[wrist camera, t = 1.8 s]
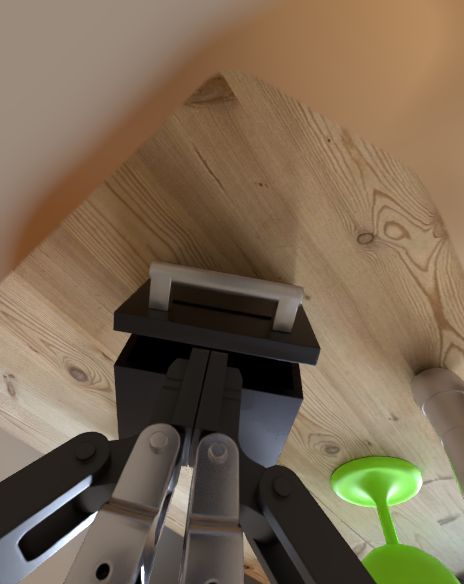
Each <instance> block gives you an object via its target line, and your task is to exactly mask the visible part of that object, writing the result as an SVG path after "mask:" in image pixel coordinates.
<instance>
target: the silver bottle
mask: <svg viewBox="0 0 464 584" xmlns="http://www.w3.org/2000/svg"><path fill="white" fill-rule="evenodd" d="M411 391H412V394H413V398H414V401H415V402H416V404H417V405H418V407H419V408H420V410H421V411H422V412H423V413H424V414H425V416H426V417H427V419H428V420H429V422H430V423H431V425H432V427H433V428H434V430H435V432H436V433H437V435H438V436H439V438H440V441H441V443H442V445H443V447H444V450H445V452H446V454H447V456H448V458H449V461H450V464H451V467H452V470H453V473H454V476H455V478H456V481H457V484H458V487H459V489H460V492H461V494H462V497H463V498H464V381H463V380H462V379H461V378H460V377H459V376H458V375H457V374H456V373H454V372H452V371H449V370H447V369H443V368H432V369H427V370H425V371H422V372H421V373H419V374H418V375H417V376H416V377H415V378H414V380H413V382H412V386H411Z"/></svg>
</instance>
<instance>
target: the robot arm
mask: <svg viewBox="0 0 464 584" xmlns="http://www.w3.org/2000/svg"><path fill="white" fill-rule="evenodd" d="M209 353H210V351H209V350H204V349H198V348H192V351H191V355H190V358H189V360H187V359H181V358H177V359H176V360H175V361H174V362H173V363H172V364H171V365H170V366H169V369H168V371H167V374H166V377H165V380H164V383H163V385H162V388H161V391H160V394H159V397H158V399H157V402H156V405H155V408H154V411H153V414H152V416H151V419H150V421H149V423H148V425H147V426H146V428H145V429H144V430H143V431H141V432H140V433H139V434H137V435H135V436H133V437H130V438H126V439H119V440H112V441H108V439H107V438H106V437H105V436H104V435H103V434H101V433H98V432H86V433H82V434H79V435H77V436H76V437H74V438H72V439H71V440H69V441H67V442H66V443H64V444H62V445H61V446H59V447H57V448H56V449H54V450H52V451H51V452H49V453H47V454H46V455H44V456H43V457H41V458H39V459H38V460H36V461H34V462H33V463H31V464H29V465H28V466H26V467H25V468H23V469H21V470H19V471H18V472H16V473H15V474H13V475H11V476H10V477H8V478H6V479H5V480H3V481H1V482H0V584H17V583H19V582H20V581H21V580H22V579H23V578H25V577H26V576H27V575H28V574H30V573H31V572H32V571H33V570H34V569H36V568H37V567H38V566H39V565H41V564H42V563H43V562H44V561H45V560H47V559H48V558H49V557H50V556H52V555H53V554H54V553H55V552H56V551H58V549H60V548H61V547H63V546H64V545H65V544H66V543H67V542H68V541H70V540H71V539H72V538H73V537H75V536H76V535H77V534H78V533H80V532H81V531H82V530H83V529H85V528H86V527H87V526H88V525H89V524H91V523H92V524H91V527H90V529H89V531H88V533H87V535H86V537H85V539H84V541H83V543H82V546H81V547H80V550H79V552H78V554H77V556H76V558H75V560H74V562H73V564H72V566H71V568H70V571H69V573H68V575H67V577H66V579H65V581H64V583H63V584H148V582H149V578H150V574H151V571H152V567H153V562H154V558H155V554H156V550H157V546H158V543H159V540H160V537H161V533H162V530H163V527H164V523H165V520H166V517H167V514H168V510H169V507H170V504H171V500H172V497H173V494H174V490H175V487H176V485H177V482H178V478H179V474H180V469H181V466H186V467H187V465H188V460H189V455H190V451H191V457H190V464H189V467H193V468H194V469H193V475H192V481H191V487H190V494H189V502H188V510H187V519H186V527H185V535H184V545H183V552H182V561H181V567H180V575H179V582H178V584H244V556H243V532H244V533H245V536H246V538H247V540H248V542H249V544H250V546H251V548H252V550H253V551H254V553H255V555H256V557H257V559H258V561H259V562H260V564H261V566H262V568H263V570H264V572H265V573H266V575H267V577H268V579H269V581H270V583H271V584H377V583H376V582H375V580H374V579H373V578H372V576H371V575H370V574H369V572H368V571H367V569H366V568H365V567H364V565H363V564H362V563H361V561H360V560H359V559H358V557H357V556H356V555H355V553H354V552H353V551H352V549H351V548H350V546H349V545H348V544H347V542H346V541H345V540H344V538H343V537H342V536H341V534H340V533H339V532H338V530H337V529H336V528H335V526H334V525H333V524H332V522H331V521H330V519H329V518H328V517H327V515H326V514H325V513H324V511H323V510H322V509H321V507H320V506H319V505H318V503H317V502H316V501H315V499H314V498H313V497H312V495H311V494H310V492H309V491H308V490H307V488H306V487H305V486H304V484H303V483H302V482H301V480H300V479H299V478H298V476H297V475H296V474H295V473H294V472H293V471H292V470H290V469H289V468H287V467H284V466H280V465H274V466H270V467H268V468H265V467H264V466H262V465H260V464H258V463H256V462H254V461H253V460H251V459H250V458H249V457H248V456H247V455H246V454H245V453H244V452H243V450H242V449H241V447H240V444H239V439H238V434H239V421H240V408H241V395H242V382H243V379H242V376H241V374H240V371H239V369H238V368H232V367H227V359H228V354H227V353H221V352H216V351H211V354H210V359H209ZM208 359H209V364H208ZM207 366H208V368H207ZM206 372H207V373H206ZM193 436H194V437H193ZM192 441H193V444H192ZM191 446H192V450H191Z"/></svg>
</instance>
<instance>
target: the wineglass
mask: <svg viewBox="0 0 464 584" xmlns="http://www.w3.org/2000/svg"><path fill="white" fill-rule="evenodd" d="M330 483H331V486H332V489H333V490H334V491H335V493H336V494H337V495H338V496H339V497H341V498H342V499H344V500H345V501H347V502H350V503H353V504H355V505H360V506H365V507H377V510H378V514H379V518H380V521H381V525H382V529H383V532H384V536H385V539H386V543H387V545H384V546H381V547H378V548H376V549H374V550H372V551H371V552H370V553H369V554H368V555H367V556H366V557H365V558H364V559H363V560H362V562H361V563H362V564H363V565H364V567H365V568H366V569H367V571H368V572H369V574H370V575H371V576H372V578H373V579H374V580H375V582H376V583H377V584H461V583H460V582H459V581H458V579H457V578H456V577H455V575H454V574H453V573H452V572H451V571H450V570H449V569H448V568H447V567H445V566H444V565H443V564H442V563H441V562H440V561H439V560H438V559H436V558H434V557H433V556H431V555H429V554H427V553H426V552H424V551H422V550H420V549H419V548H416V547H413V546H408V545H403V544H399V540H398V537H397V534H396V531H395V527H394V524H393V521H392V517H391V514H390V511H389V508H388V506H391V505H396V504H399V503H402V502H404V501H406V500H408V499H410V498H412V497H413V496H414V495H415V494H416V493H417V492H418V491H419V489H420V487H421V485H422V475H421V473H420V471H419V470H418V468H417V467H415V466H414V465H412V464H411V463H409V462H406V461H404V460H401V459H397V458H392V457H379V456H375V457H365V458H360V459H357V460H353V461H350V462H348V463H346V464H343V465H342V466H340V467H339V468H338V469H336V470H335V472H334V473H333V474H332V476H331V481H330Z"/></svg>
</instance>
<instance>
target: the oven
mask: <svg viewBox="0 0 464 584" xmlns="http://www.w3.org/2000/svg"><path fill="white" fill-rule="evenodd" d="M192 348H198V349H204V350H209V351H210V353H209V359H210V354H211V351H216V352H221V353H227V354H228V359H227V367H232V368H238V369H239V371H240V374H241V376H242V379H243V382H242V395H241V408H240V421H239V434H238V439H239V444H240V447H241V449H242V450H243V452H244V453H245V454H246V455H247V456H248V457H249V458H250V459H251V460H253V461H254V462H256V463H258V464H260V465H262V466H264V467H265V468H268V467H270V466H274V465H276V463H277V460H278V458H279V456H280V453H281V451H282V449H283V446H284V444H285V441H286V439H287V437H288V434H289V432H290V430H291V427H292V425H293V423H294V420H295V418H296V416H297V413H298V411H299V409H300V406H301V404H302V401H303V391H302V383H301V375H300V368H299V363H295V362H289V361H283V360H278V359H272V358H267V357H261V356H255V355H250V354H244V353H239V352H233V351H227V350H222V349H216V348H211V347H205V346H200V345H194V344H188V343H183V342H177V341H172V340H166V339H160V338H155V337H149V336H144V335H138V334H131V336H130V338H129V339H128V341H127V343H126V345H125V346H124V348H123V350H122V352H121V353H120V355H119V357H118V359H117V361H116V362H115V364H114V375H115V390H116V405H117V420H118V434H119V439H126V438H130V437H133V436H135V435H137V434H139V433H140V432H141V431H143V430H144V429H145V428H146V426H147V425H148V423H149V421H150V419H151V416H152V414H153V411H154V408H155V405H156V402H157V399H158V397H159V394H160V391H161V388H162V385H163V383H164V380H165V377H166V374H167V371H168V369H169V366H170V365H171V364H172V363H173V362H174V361H175V360H176V359H177V358H181V359H187V360H189V358H190V355H191V351H192ZM209 359H208V364H209ZM207 368H208V366H207ZM206 373H207V372H206ZM193 437H194V436H193ZM192 444H193V441H192ZM191 450H192V446H191ZM190 457H191V451H190V455H189V460H188V465H189V464H190Z"/></svg>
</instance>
